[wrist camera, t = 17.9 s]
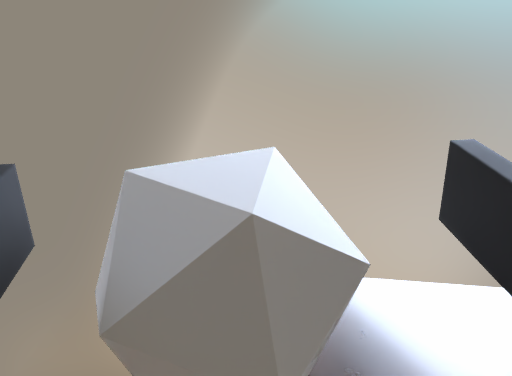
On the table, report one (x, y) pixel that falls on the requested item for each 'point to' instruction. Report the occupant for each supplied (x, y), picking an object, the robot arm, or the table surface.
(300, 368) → the die
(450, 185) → the robot arm
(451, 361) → the shelf
